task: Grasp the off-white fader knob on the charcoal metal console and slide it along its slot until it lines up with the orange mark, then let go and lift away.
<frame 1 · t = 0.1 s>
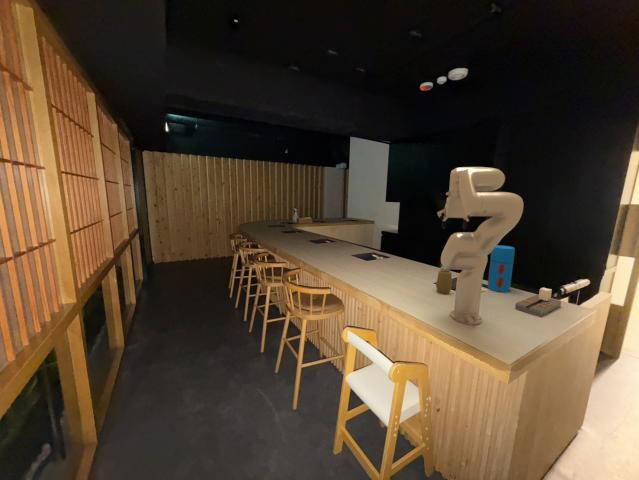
hand: (454, 229, 136), 37 cm above the table, tool pointing down, fingers open, 9 cm apart
fader: (544, 295, 132), point 5 cm above the table, slide at -6.0 cm
squeeze bottle: (443, 292, 150), on the table
console: (537, 308, 129), on the table
thermos: (498, 289, 155), on the table
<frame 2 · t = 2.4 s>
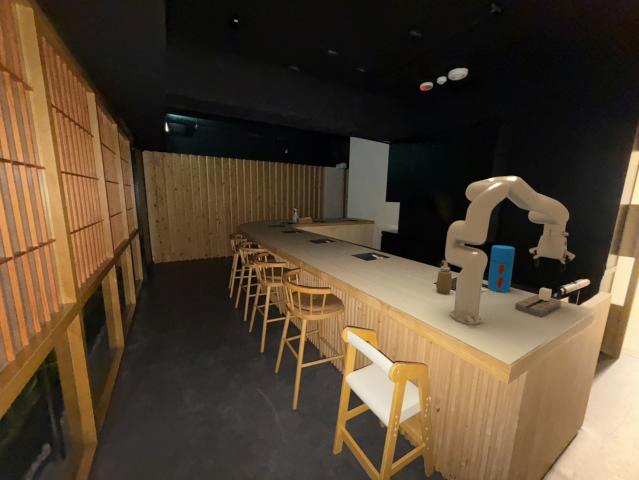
hand: (548, 268, 130), 19 cm above the table, tool pointing down, fingers open, 9 cm apart
nothing on the table moved.
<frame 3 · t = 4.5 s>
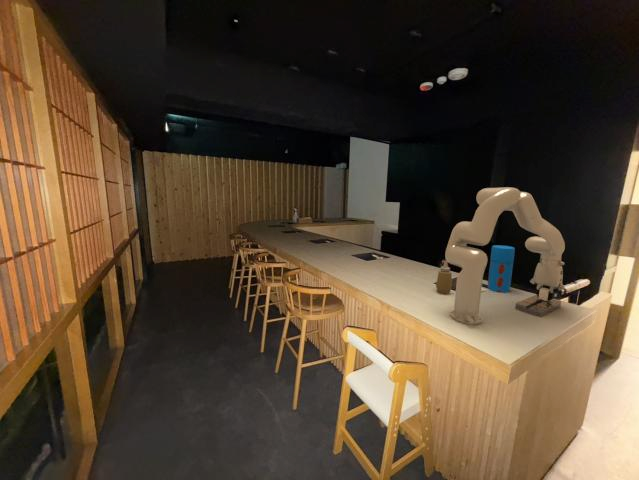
hand: (544, 298, 132), 4 cm above the table, tool pointing down, fingers closed on fader, 3 cm apart
fader: (544, 295, 132), point 5 cm above the table, slide at -6.0 cm, touching gripper
everything else where it was.
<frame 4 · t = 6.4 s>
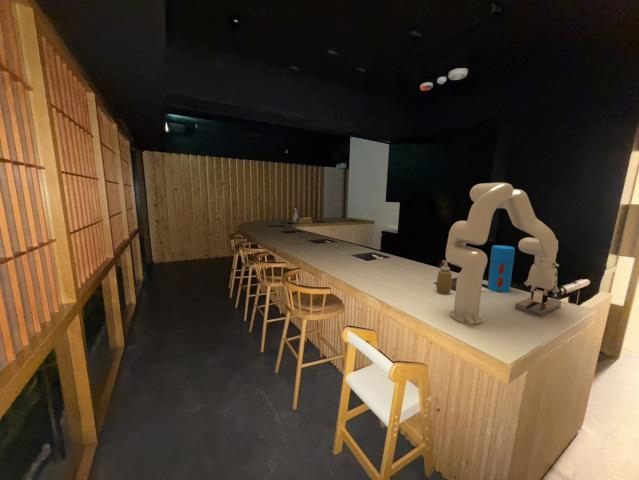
hand: (538, 300, 129), 4 cm above the table, tool pointing down, fingers closed on fader, 3 cm apart
fader: (539, 297, 128), point 5 cm above the table, slide at 0.3 cm, touching gripper
everything else where it was.
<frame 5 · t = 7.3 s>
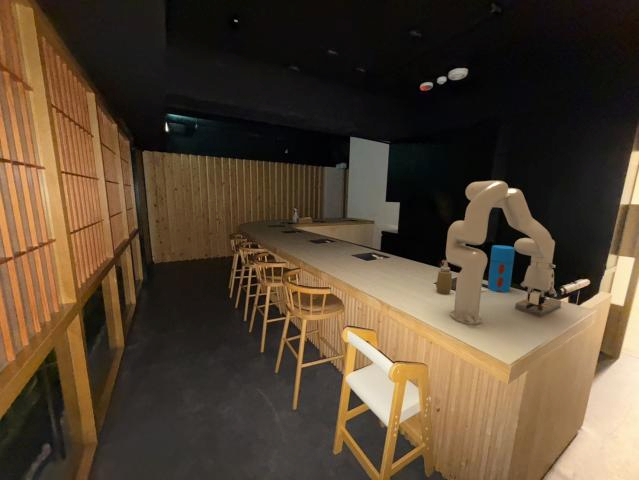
hand: (535, 302, 127), 4 cm above the table, tool pointing down, fingers closed on fader, 3 cm apart
fader: (535, 299, 127), point 5 cm above the table, slide at 3.9 cm, touching gripper
everything else where it was.
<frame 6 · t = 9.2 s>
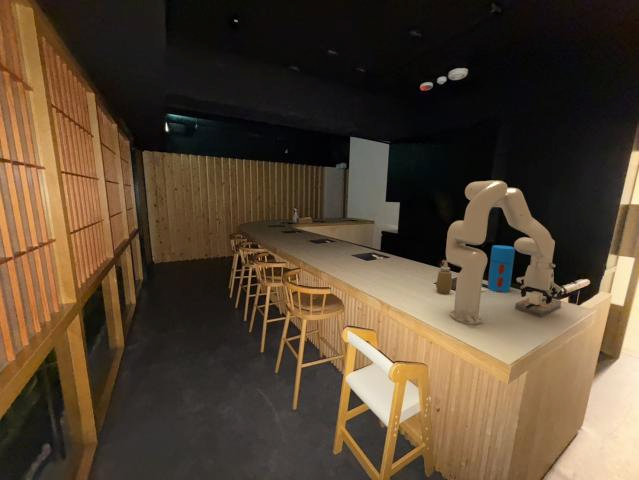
hand: (535, 299, 127), 5 cm above the table, tool pointing down, fingers open, 9 cm apart
fader: (535, 299, 127), point 5 cm above the table, slide at 4.0 cm
everything else where it was.
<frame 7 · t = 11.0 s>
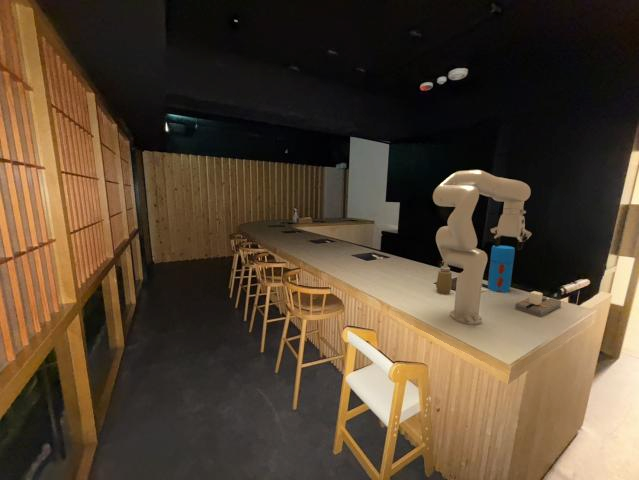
hand: (507, 248, 129), 29 cm above the table, tool pointing down, fingers open, 9 cm apart
nothing on the table moved.
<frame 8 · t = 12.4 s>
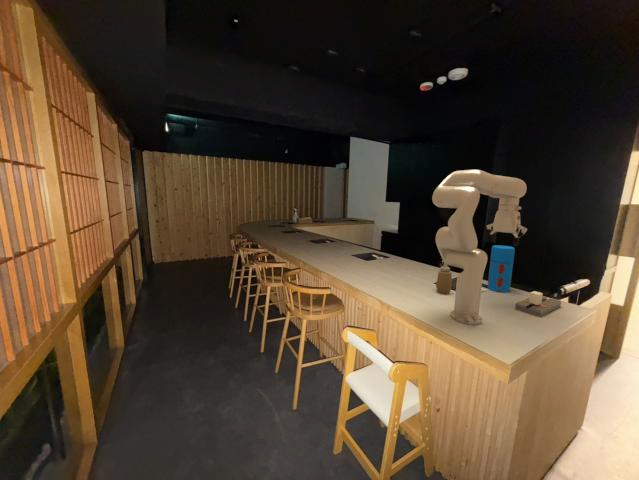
hand: (503, 244, 130), 30 cm above the table, tool pointing down, fingers open, 9 cm apart
nothing on the table moved.
at the end: fader slide at 4.0 cm; the gripper is holding nothing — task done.
